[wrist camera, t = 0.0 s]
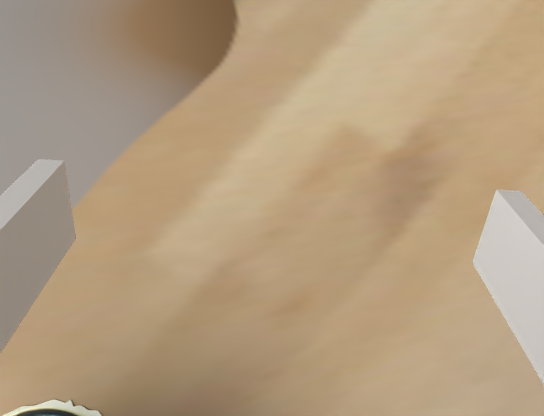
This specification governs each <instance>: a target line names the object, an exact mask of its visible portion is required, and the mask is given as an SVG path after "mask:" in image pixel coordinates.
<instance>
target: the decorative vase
mask: <svg viewBox="0 0 544 416" xmlns="http://www.w3.org/2000/svg"><path fill="white" fill-rule="evenodd" d="M2 416H102V415H101V414H100V413H99V412H98V411H97V410H87V409H86V408H84V407H83V406H81V405H80V406H74V407H73V404H72V402H71V400H69V401H68V402H66V403H64V402H61V401H58V400H55V399H53V400H50V401H47V402H44V403H41V404H38V405H35V406H21V407H20V408H18V409H16V410H14V411H12V412H9V413H7V414H4V415H2Z"/></svg>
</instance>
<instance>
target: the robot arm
mask: <svg viewBox="0 0 544 416" xmlns="http://www.w3.org/2000/svg"><path fill="white" fill-rule="evenodd" d="M75 239H76V235H75V228H74V222H73V215H72V209H71V202H70V195H69V189H68V182H67V176H66V169H65V162H64V161H58V160H42V159H38V160H37V161H36V162H35V163H34V164H33V165H32V166H31V167H30V168H29V169H28V170H27V171H26V172H25V173H24V174H23V175H21V177H19V178H18V179H17V180H16V181H15V182H14V183H13V184H12V185H11V186H10V187H9V188H8V189H7V190H6V191H5V192H4V193H3V194H2V195H1V196H0V354H1V352H2V350H3V349H4V347H5V346H6V344H7V343H8V341H9V340H10V338H11V337H12V335H13V334H14V332H15V331H16V329H17V328H18V326H19V324H20V323H21V321H22V320H23V318H24V317H25V315H26V314H27V312H28V311H29V309H30V308H31V306H32V305H33V303H34V301H35V300H36V298H37V297H38V295H39V294H40V292H41V291H42V289H43V288H44V286H45V285H46V283H47V282H48V280H49V279H50V277H51V275H52V274H53V272H54V271H55V269H56V268H57V266H58V265H59V263H60V262H61V260H62V259H63V257H64V256H65V254H66V253H67V251H68V249H69V248H70V246H71V245H72V243H73V242H74V240H75ZM472 263H473V265H474V266H475V268H476V270H477V272H478V273H479V275H480V277H481V278H482V280H483V282H484V284H485V285H486V287H487V289H488V290H489V292H490V294H491V296H492V297H493V299H494V301H495V302H496V304H497V306H498V308H499V309H500V311H501V313H502V314H503V316H504V318H505V320H506V321H507V323H508V325H509V326H510V328H511V330H512V331H513V333H514V335H515V337H516V338H517V340H518V342H519V343H520V345H521V347H522V349H523V350H524V352H525V354H526V355H527V357H528V359H529V361H530V362H531V364H532V366H533V367H534V369H535V371H536V373H537V374H538V376H539V378H540V379H541V381H542V383H543V385H544V215H543V214H542V213H541V212H540V211H539V210H538V209H537V208H536V207H535V206H534V204H533V203H532V202H531V201H530V200H529V199H528V198H527V197H526V196H525V195H524V194H523V193H522V192H521V191H512V190H497V189H496V192H495V195H494V198H493V201H492V204H491V207H490V210H489V214H488V217H487V220H486V223H485V226H484V229H483V232H482V235H481V238H480V241H479V244H478V247H477V250H476V253H475V256H474V259H473V262H472Z"/></svg>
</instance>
